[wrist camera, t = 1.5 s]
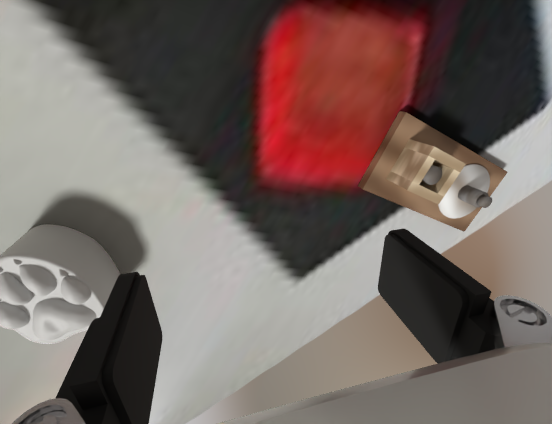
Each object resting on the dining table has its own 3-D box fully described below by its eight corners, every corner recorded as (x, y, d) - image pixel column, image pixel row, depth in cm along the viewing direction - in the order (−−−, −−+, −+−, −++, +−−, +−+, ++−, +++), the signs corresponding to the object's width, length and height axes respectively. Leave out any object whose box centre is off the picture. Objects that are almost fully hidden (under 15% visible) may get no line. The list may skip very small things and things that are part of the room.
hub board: (399, 111, 40) (429, 116, 35) (499, 169, 49) (535, 180, 44) (357, 185, 44) (378, 200, 39) (457, 227, 53) (486, 244, 47)
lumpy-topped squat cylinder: (62, 310, 41) (30, 362, 34) (-5, 241, 35) (-62, 285, 28) (130, 283, 42) (114, 329, 34) (76, 211, 36) (42, 246, 28)
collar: (409, 139, 41) (434, 146, 36) (439, 155, 43) (465, 164, 39) (386, 178, 43) (407, 190, 38) (415, 192, 45) (438, 204, 41)
